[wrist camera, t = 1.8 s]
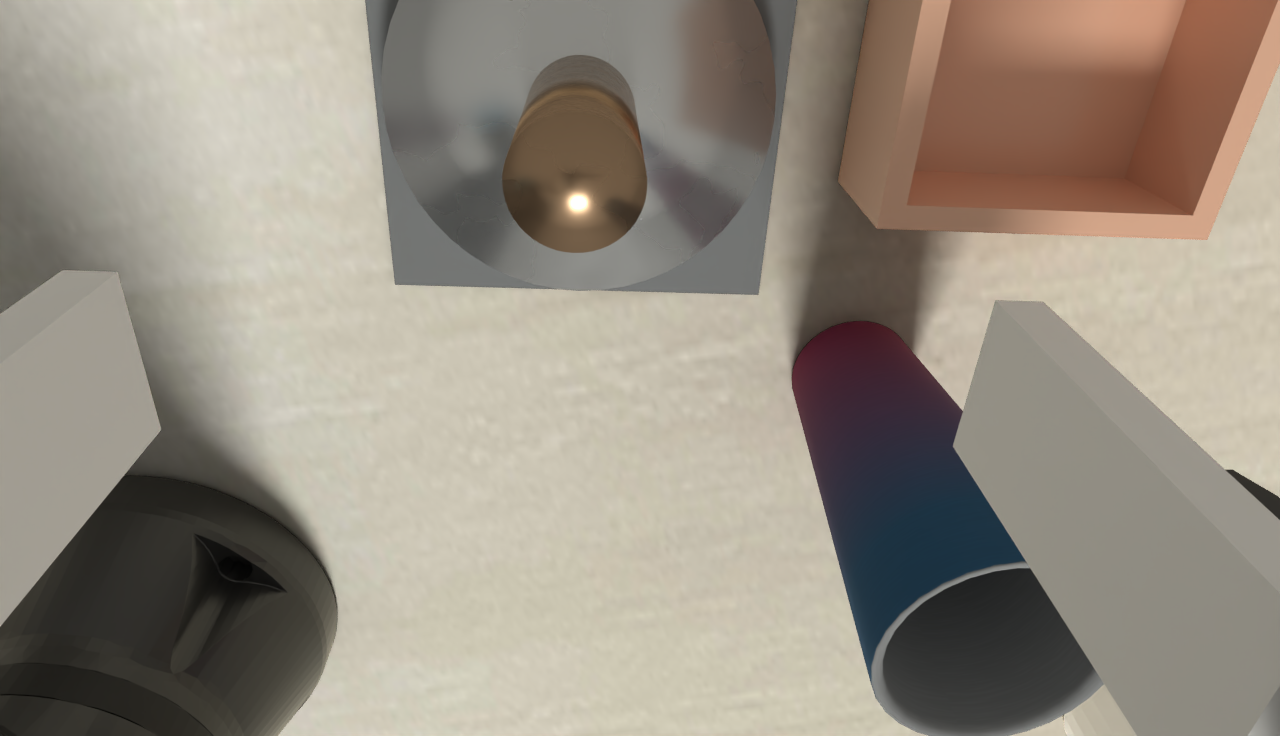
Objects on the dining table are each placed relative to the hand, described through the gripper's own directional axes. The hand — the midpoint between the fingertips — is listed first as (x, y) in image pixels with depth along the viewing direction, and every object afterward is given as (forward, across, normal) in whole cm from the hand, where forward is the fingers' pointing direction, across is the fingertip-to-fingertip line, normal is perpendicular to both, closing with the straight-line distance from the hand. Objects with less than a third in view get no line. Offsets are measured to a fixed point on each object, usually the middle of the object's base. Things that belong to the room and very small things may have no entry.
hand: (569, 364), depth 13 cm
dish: (+18, +15, +3) cm, 24 cm away
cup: (+19, +11, -11) cm, 24 cm away
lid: (+18, 0, 0) cm, 18 cm away
